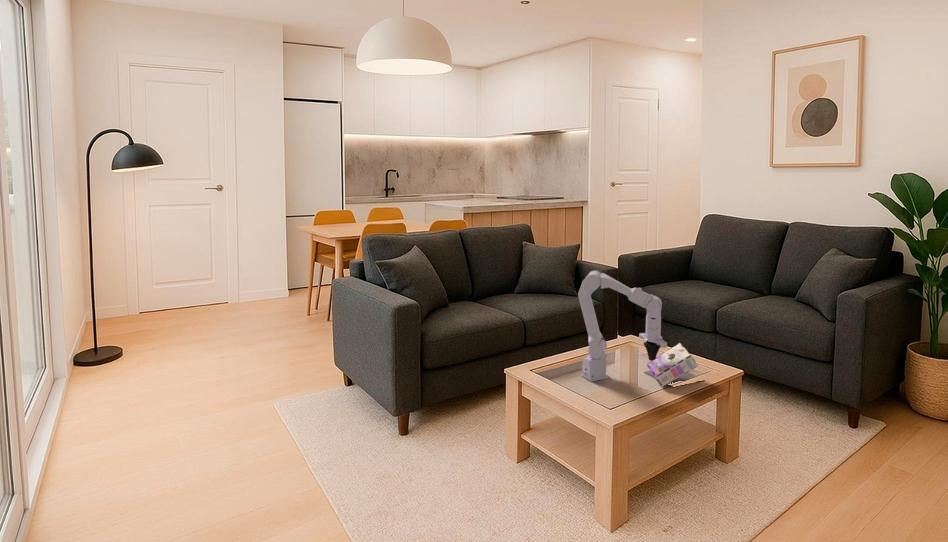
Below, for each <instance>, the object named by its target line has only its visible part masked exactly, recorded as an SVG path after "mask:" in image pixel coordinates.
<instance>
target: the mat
mask: <svg viewBox="0 0 948 542" xmlns="http://www.w3.org/2000/svg"><path fill="white" fill-rule="evenodd" d="M643 373H644V374H646V375H648V376H650V377H652V378H654V379H656V378H655V377H654V375H653V374H652V372H651V371H650V370H648V371H644V372H643ZM695 377H699V376H698V375H695V374H694V373H691V372H690V371H689V372H687V373H685V374H684V375H682V376H680V377H679V378H677V379H676V380H674V381H672V382H673V383H675V382H678V381H686V380H689V379H692V378H695ZM656 380H657V379H656ZM672 382H671V384H672ZM669 384H670V383H669Z"/></svg>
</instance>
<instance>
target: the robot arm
mask: <svg viewBox="0 0 948 542" xmlns="http://www.w3.org/2000/svg"><path fill="white" fill-rule="evenodd" d="M599 287H600V289H608V288H609V289H611V290H613V291H616V292H618V293H620V294H623V295H624V296H626V297H627V299H628V301H630V302H632V303H633V304H636V305H637V306H640V307H641V308H644V309H645V310H646V315H645V332H640V333H639V335H638V338H639V339H643V340H645V342H643V345H644V347H645V349H646V353H647V356H648V360H649V361H653V360H655V359H656V358H657V355H658V352H659V350H660V349H661V348H662V349H665V348H668V342H667V341H665V340H664V339H663V336H662V335H661V331H662V309H663V307H662V305H663V302H662V299H661V298H660V297H658V296H657V295H653V294H652V293H650V294H649V293H648V292H645V291H644V290H643V289H642V288H641V287H633V288H631V287H629V286H627V285H625V284H623V283H622V282H620V281H619V280H617V279H615V278H613V277H612V276H610V275H608V274H606V273H603V272H601V271H600V270H596V269H595V270H591V271H590V272H589V273H588V274H587V275H586V277H585V278H584V279H583V280H582V282H581V285H580V288H579V290H578V292H577V293H578V294H577V298H578V299H579V300H578V301H579V305H580V309H581V312H582V316H583V320H584V321H583V322H584V324H585V328H586V332H587V336H588V337H587V338H588V341H587V342H588V350H587V352H588V355H587V357H584V358H583V359H582V360H581V374H580V376H581V377H583V378H584V379H586V380H588V381H589V382H596V381H601V380H607V379H610V378H611V376H610V375H608V374H607V354H606V352H605V351H606V349H607V346H608V345H607V341H606V340H605V339H604V336H603V334H602V333H601V331H600V327H599V323H598V319H597V315H596V312H595V311H596V310H595V307H594V303H593V300H592V299H593V298H592V294H593V292H595V291H596V290H597V289H598V288H599Z"/></svg>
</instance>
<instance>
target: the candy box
mask: <svg viewBox="0 0 948 542" xmlns="http://www.w3.org/2000/svg"><path fill="white" fill-rule="evenodd" d="M645 364H646V367H647V368H648V369H649V371H651V372H652V374H653V375H654V377H655V378H656V381H657V382H658V383H659V385H660V387H661V388H662V387H663V388H664V387H666V386H667V384H669V383H671V382H672V381H674V380H676V379H677V378H679V377H680V376H682V375H684V374H685V373H687V372H689V373H690V372H691V371H692V370H693V369H696V368H697V367H698V366H699V364H698V363H697V362H696V360H695V359H694V357H693V355H691V354H690V352H689V351H688V349H686V348H685V347H684V346H683V345H682V343H681V342H679V343H677V344H676V345H674V346H673V347H671V348H669V349H668V350H666V351H665V352H663V353H662V354H660V355H658V356H656V359H655V360H653V361H651V360H649V361H648V362H647V363H645ZM655 378H654V379H655Z"/></svg>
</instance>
